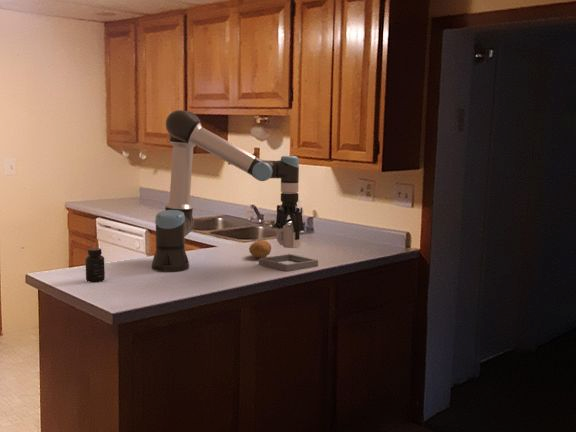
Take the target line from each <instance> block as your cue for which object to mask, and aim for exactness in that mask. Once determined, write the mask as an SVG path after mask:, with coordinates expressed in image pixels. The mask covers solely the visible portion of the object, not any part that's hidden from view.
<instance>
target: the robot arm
mask: <svg viewBox="0 0 576 432" xmlns="http://www.w3.org/2000/svg"><path fill="white" fill-rule="evenodd" d="M165 129H166V132H168V133H167V134H169V143H170V144H171V146H172V155H171V156H172V157H171V168H170V169H171V171H170V173H171V174H170V185H169V201H168V203H167V204H166V205H165V208H164V209H165V210H161V211H159V212H158V213H156V215H155V220H154V222H155V223H154V224H155V252H154V254H153V258H152V262H151V269H152V270H153V271H156V270H157V272H166V273H167V272H169V273H170V272H182V271H186V270H189V268H190V261H189V258H188V255H187V253H186V249H185V248H186V246H185V243H186V241H185V240H186V238H185V237H186V236H187V235H189V234H190V233H191V232H192V231H193V228H194V225H195V222H194V221H195V220H194V217H193V210H194V209H193V206H192V205H191V204H190V202H191V201H190V200H191V188H192V187H191V186H192V174H193V173H192V172H193V171H192V170H193V157H194V148H195V147H198V148H201V149H202V150H205V151H206V152H209V153H210V154H211V155H213V156H216V157H217V158H219V159H221V160H222V161H224V162H226V163H228V164H230V165H232V166H234V167H235V168H238V169H239V170H241V171H243V172H245V173H246V174H248V175H250V176H252V178H254V179H256V180H257V181H259V182H266V181H268V180H270V179H280V192H281V193H280V202H281V204H278V205H276V220H275V228H277V229H278V230H279V229H281V228H283V226H284V225H287V224H286V223H287V220H288V217H289V218H290V219H291V225H293V228H294V231H293V248H292V249H297V248H296V247H298V248H300V245H299V239H300V235H301V232H303V231H304V221H303V207H299V206H298V202H299V193H298V192H299V182H300V181H299V177H300V175H299V174H300V165H299V158H298V156H296V155H282V156H280V160H263V159H261V158H260V157H257V156H255V155H254V154H252V153H250V152H249V151H247V150H245V149H243V148H241V147H239V146H237V145H236V144H233V143H232V142H230V141H228V140H227V139H225V138H223V137H221V136H219V135H218V134H215V133H214V132H211V131H210V130H208V129H206V128H205V127H203V126H202V123H201V121H200V119H199V117H198V116H197V115H196V113H193V112H192V111H188V110H183V109H180V110H179V109H177V110H174V111H172V112H171V113H169V115H168V116H167V117H166V119H165ZM280 239H281V240H283V232H281V233H280ZM300 240H301V239H300ZM279 245H280V246H283V244H280V243H279Z"/></svg>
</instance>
